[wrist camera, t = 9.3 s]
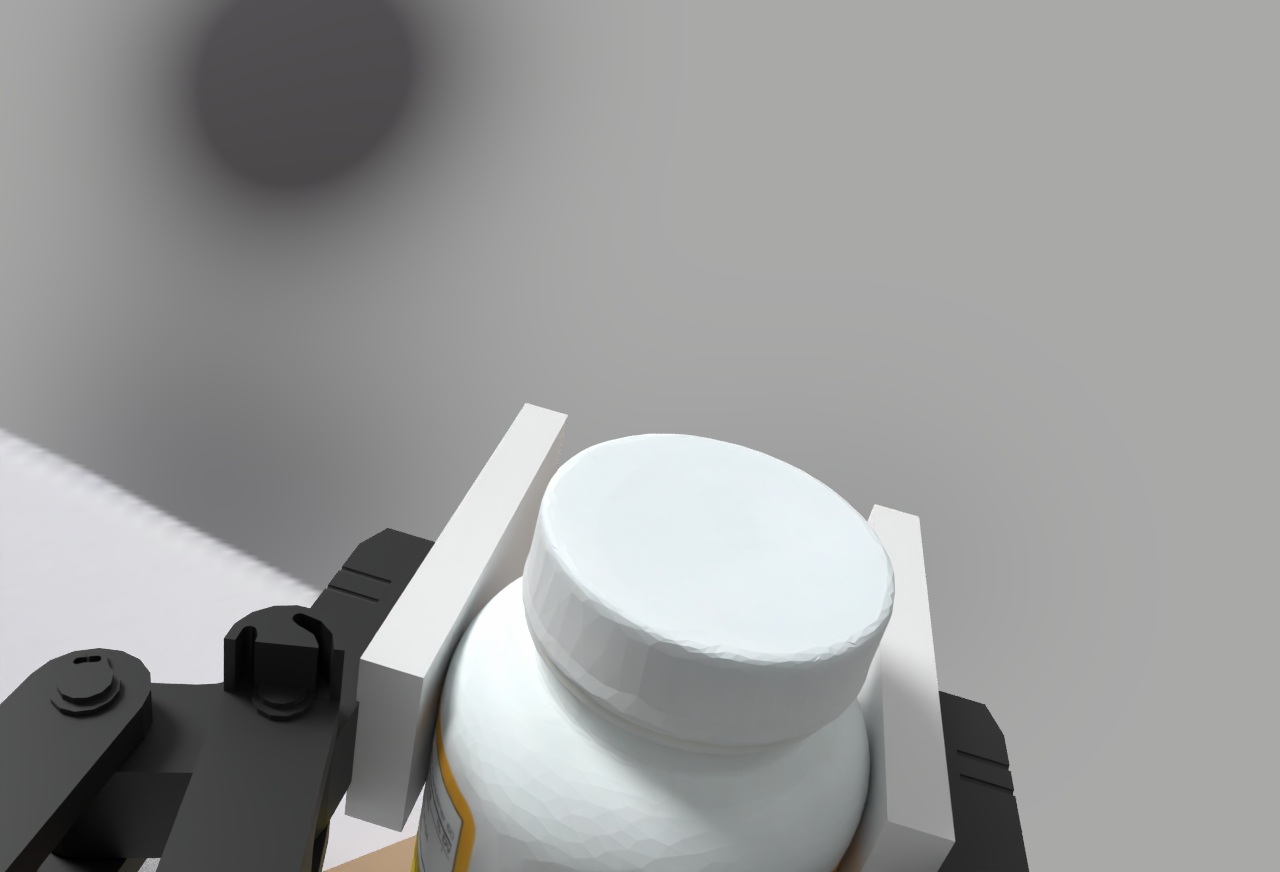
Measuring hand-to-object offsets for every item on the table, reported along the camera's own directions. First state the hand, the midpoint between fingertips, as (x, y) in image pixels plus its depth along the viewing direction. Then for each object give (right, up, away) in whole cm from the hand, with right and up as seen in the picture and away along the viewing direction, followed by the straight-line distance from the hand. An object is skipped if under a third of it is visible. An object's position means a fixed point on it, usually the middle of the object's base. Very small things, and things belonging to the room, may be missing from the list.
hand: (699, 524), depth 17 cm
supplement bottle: (-2, -8, -1) cm, 8 cm away
